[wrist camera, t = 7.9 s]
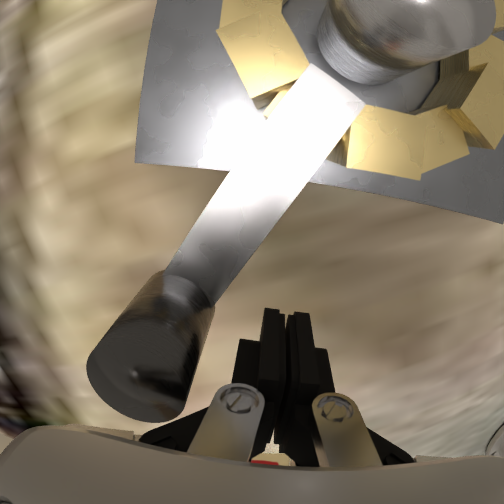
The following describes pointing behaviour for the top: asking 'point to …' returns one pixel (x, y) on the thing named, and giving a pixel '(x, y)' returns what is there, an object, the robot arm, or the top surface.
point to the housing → (332, 63)
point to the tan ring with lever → (282, 189)
